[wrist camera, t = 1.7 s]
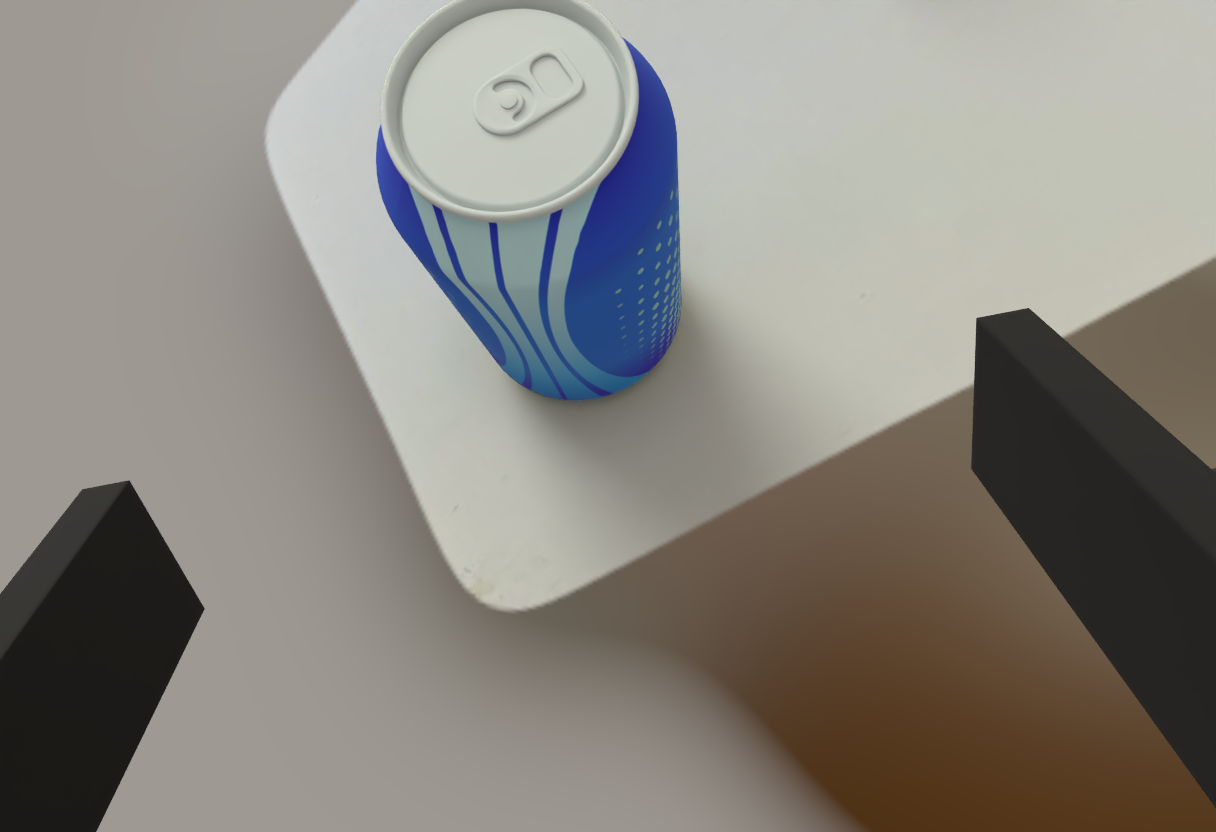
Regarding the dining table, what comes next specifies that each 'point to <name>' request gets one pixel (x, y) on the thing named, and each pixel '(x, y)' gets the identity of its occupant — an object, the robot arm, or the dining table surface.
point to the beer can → (538, 188)
